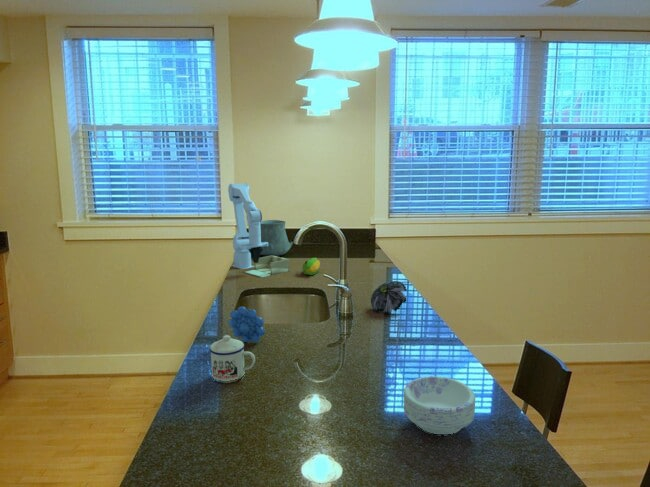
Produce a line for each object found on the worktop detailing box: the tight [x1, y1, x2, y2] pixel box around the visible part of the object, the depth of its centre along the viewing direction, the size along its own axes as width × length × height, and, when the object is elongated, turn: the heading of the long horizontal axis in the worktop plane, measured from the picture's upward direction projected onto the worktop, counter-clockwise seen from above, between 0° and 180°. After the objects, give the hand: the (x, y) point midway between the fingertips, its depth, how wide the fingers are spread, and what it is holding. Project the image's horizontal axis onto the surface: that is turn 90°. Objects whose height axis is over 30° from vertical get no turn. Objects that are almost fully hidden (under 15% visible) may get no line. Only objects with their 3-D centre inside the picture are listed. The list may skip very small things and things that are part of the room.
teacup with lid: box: [209, 334, 256, 381], centre depth 132 cm, size 12×9×12 cm
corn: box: [301, 257, 321, 276], centre depth 246 cm, size 7×8×20 cm
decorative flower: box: [370, 280, 408, 316], centre depth 188 cm, size 15×12×15 cm
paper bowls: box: [403, 375, 476, 435], centre depth 108 cm, size 15×15×8 cm
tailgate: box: [243, 269, 271, 278], centre depth 243 cm, size 14×1×6 cm
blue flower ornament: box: [228, 306, 266, 343], centre depth 155 cm, size 12×7×12 cm, turn 84°
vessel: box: [260, 219, 293, 257], centre depth 289 cm, size 22×22×20 cm
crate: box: [254, 255, 290, 276], centre depth 249 cm, size 14×11×7 cm
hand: (255, 262), depth 242 cm, fingers closed
